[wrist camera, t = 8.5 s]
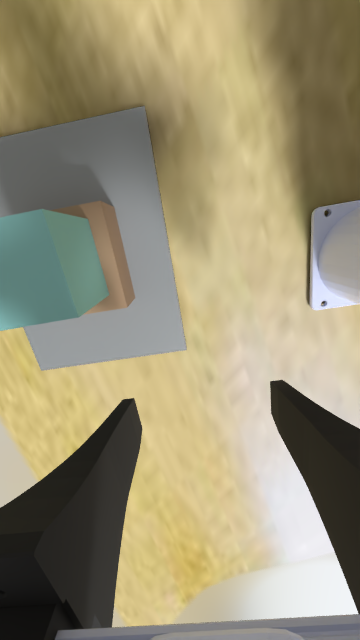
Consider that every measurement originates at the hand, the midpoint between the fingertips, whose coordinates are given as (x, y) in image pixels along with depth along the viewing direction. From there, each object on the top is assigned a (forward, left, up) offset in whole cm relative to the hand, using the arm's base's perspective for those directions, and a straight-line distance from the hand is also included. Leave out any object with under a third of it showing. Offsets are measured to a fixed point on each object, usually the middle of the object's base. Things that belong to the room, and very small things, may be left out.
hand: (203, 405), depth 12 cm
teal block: (+8, -8, -6) cm, 13 cm away
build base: (+8, -8, -9) cm, 15 cm away
